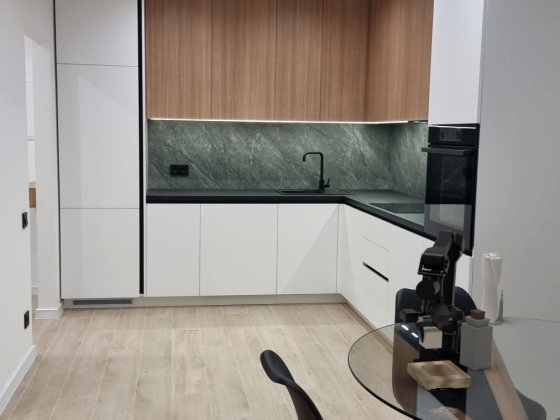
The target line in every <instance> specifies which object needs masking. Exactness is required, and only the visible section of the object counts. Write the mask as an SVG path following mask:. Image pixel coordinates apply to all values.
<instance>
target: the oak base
mask: <svg viewBox="0 0 560 420" xmlns="http://www.w3.org/2000/svg"><path fill="white" fill-rule="evenodd" d="M406 371H407V374H408V375H409V376H410V377H412V379H414V380H415V382H416V383H418V384H419V386H421V387H422V386H423V387H424V388H425V389H426V390H428V391H432V390H431V389H436V388H453V389H461V388H463V389H465V388H471V383H472V380H471V379H472V377H471V375H468V374H467V373H466V372H465V371H463V370H462V369H461V368H460V367H458V366H457V365H456V364H455V363H453V362H452V361H451V360H437V361H435V360H433V361H420V362H419V361H418V362H408V363H407V369H406ZM423 387H422V388H423ZM424 388H423V389H424ZM425 389H424V390H425ZM426 390H425V391H426Z"/></svg>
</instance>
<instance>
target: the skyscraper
mask: <svg viewBox="0 0 560 420" xmlns="http://www.w3.org/2000/svg"><path fill="white" fill-rule="evenodd" d="M502 267H503V256H501V254H500V253H498V252H489V253H484V254H482V267H481V269H482V270H481V275H482V276H481V279H482V280H481V281H482V287H483V290H482V296H481V306H480V310H482V311H485V317H486V318H489V319H490V321H489V325H491V326H493V325H494V326H500V324H502V323H503V322H504V317H503V316H504V297H503V296H504V294H503V289H501V294H500V300H499V291H498V287H499V283H500V281H501V280H500V279H501V275H502V274H501V273H502Z"/></svg>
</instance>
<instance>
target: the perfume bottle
mask: <svg viewBox="0 0 560 420" xmlns="http://www.w3.org/2000/svg"><path fill="white" fill-rule="evenodd" d="M464 319H465V321H466V322H462V323H461V337H460V349H459V350H460V351H459V352H460V353H459V364H460V365H462V366H465V367H466V368H469V369H471V370H473V371H478V370H483V369H488V368H491V366H492V365H491V364H492V352H493V351H492V350H493V332H494V330H493V329H494V326H493V325H492V324H489V321H490V319H489V318H486V317H485V311H482V310H481V308H480V309H479V308H477V309H470V315H467V316H464Z"/></svg>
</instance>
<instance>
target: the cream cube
mask: <svg viewBox="0 0 560 420" xmlns="http://www.w3.org/2000/svg"><path fill="white" fill-rule="evenodd" d="M418 343H419V344H420V345H421V347H423V348H424V349H426V350H427V349H429V350H430V349H433V348H441V346H442V331H441V330H439V329H438V328H437V327H432V326H424V342H423V343H422V342H421V341H420V338H419V341H418Z"/></svg>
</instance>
